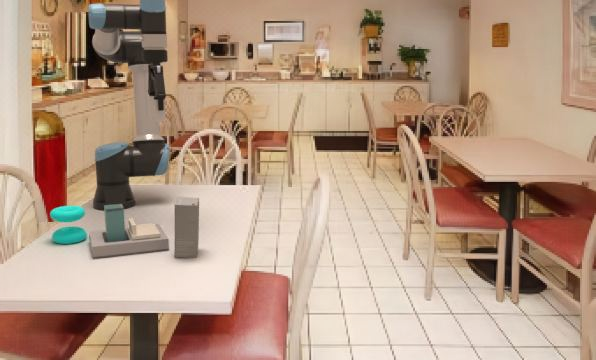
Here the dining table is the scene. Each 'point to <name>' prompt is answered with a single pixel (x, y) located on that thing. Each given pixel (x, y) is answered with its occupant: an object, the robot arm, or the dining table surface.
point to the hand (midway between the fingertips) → (157, 119)
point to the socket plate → (126, 244)
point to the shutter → (142, 230)
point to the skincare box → (186, 227)
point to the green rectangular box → (114, 223)
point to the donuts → (68, 233)
